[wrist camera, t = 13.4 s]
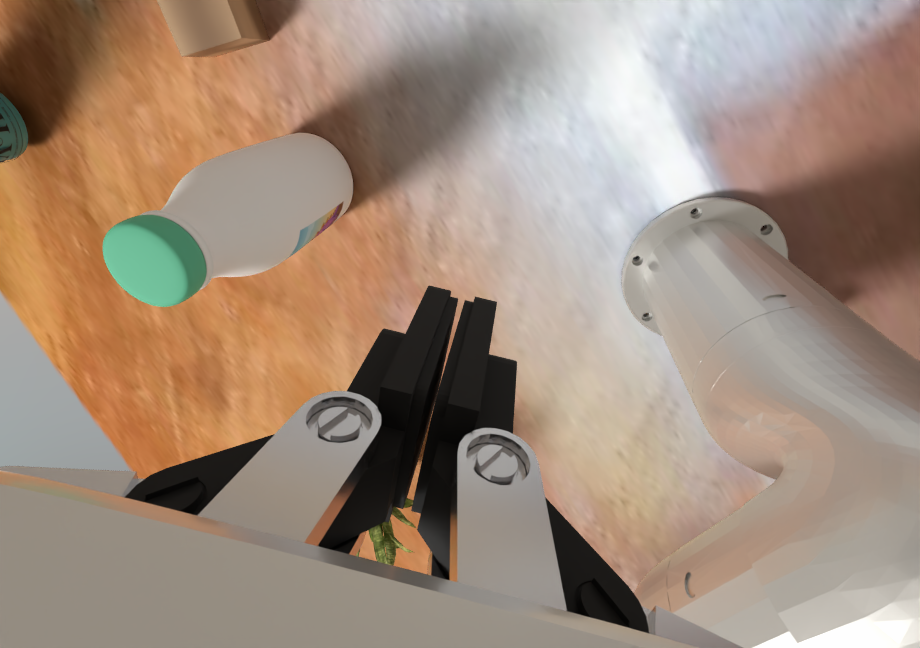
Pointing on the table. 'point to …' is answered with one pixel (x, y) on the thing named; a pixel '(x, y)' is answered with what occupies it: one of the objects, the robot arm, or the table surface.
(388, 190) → the table surface
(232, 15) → the teak block
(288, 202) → the milk bottle
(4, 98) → the beverage bottle
